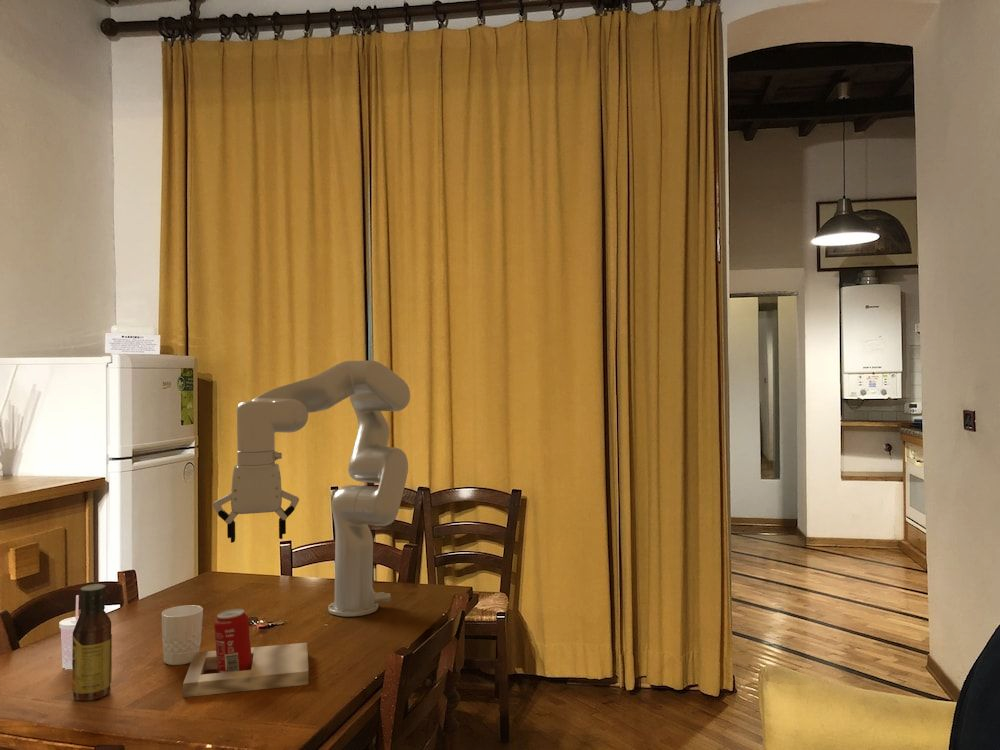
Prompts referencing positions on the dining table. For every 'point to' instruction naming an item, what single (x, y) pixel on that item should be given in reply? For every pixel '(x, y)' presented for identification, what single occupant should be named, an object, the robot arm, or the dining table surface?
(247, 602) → the dining table surface
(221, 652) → the beverage can
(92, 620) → the sauce bottle
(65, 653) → the beverage cup
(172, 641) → the white cup
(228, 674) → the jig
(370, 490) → the robot arm
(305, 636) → the dining table surface
